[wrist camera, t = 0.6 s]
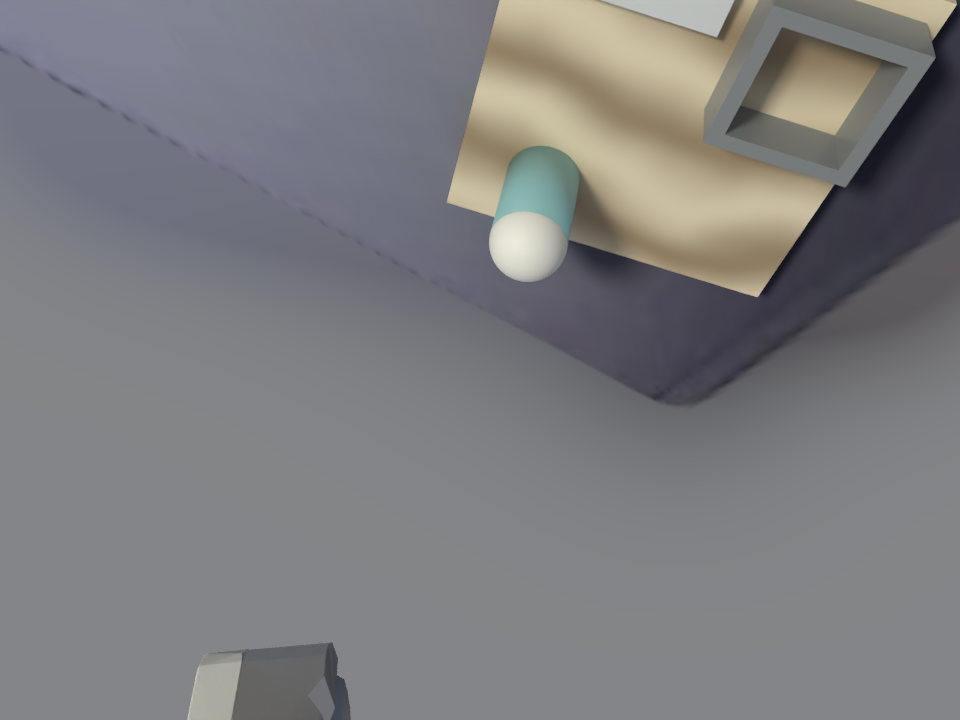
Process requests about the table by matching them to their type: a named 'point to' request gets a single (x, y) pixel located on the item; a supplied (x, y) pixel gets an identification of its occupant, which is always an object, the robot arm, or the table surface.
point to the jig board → (659, 129)
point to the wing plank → (683, 12)
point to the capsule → (534, 213)
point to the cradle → (836, 158)
